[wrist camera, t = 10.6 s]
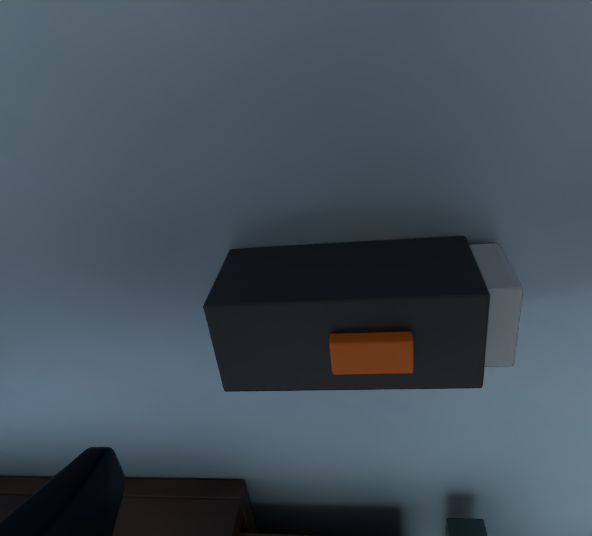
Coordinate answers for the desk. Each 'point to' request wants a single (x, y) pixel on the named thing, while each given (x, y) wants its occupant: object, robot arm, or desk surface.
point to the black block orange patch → (364, 315)
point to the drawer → (458, 530)
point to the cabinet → (160, 506)
